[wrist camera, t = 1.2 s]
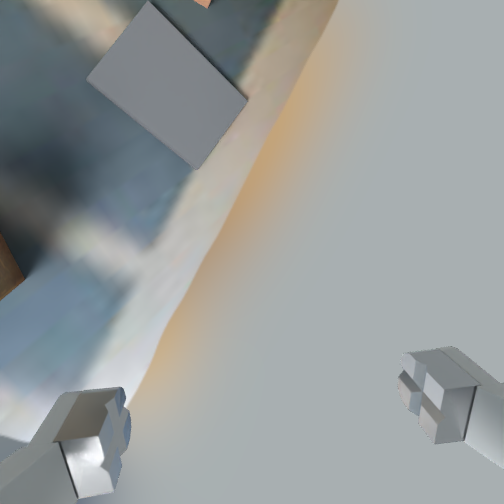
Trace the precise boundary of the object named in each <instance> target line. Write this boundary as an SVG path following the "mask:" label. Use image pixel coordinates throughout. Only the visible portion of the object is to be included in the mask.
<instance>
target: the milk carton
mask: <svg viewBox="0 0 504 504" xmlns="http://www.w3.org/2000/svg"><path fill="white" fill-rule="evenodd" d="M24 280H25V278H24V277H23V275H22V273H21V271H20V269H19V267H18V265H17V263H16V261H15V259H14V258H13V256H12V254H11V252H10V250H9V248H8V246H7V244H6V242H5V240H4V238H3V237H2V235H1V233H0V300H2V299H3V298H4V297H5V296H6V295H8V294H9V293H10V292H11V291H12V290H13V289H15V288H16V287H17V286H18V285H19V284H21V283H22V282H23V281H24Z"/></svg>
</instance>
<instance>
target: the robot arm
mask: <svg viewBox="0 0 504 504" xmlns="http://www.w3.org/2000/svg"><path fill="white" fill-rule="evenodd" d="M400 365H401V366H402V368H403V369H404V371H403V372H402V373H401V374H400V376H399V377H398V389H399V394H400V397H401V399H402V401H403V403H404V405H405V406H406V407H407V408H408V410H409V411H411V412H412V413H414V414H416V415H418V416H419V421H418V424H419V425H420V426H421V428H422V429H423V430H424V432H425V433H426V434H427V435H428V437H429V438H430V439H431V441H432V442H433V443H434V444H441V443H450V442H458V441H465V443H466V444H467V445H469V446H470V447H472V448H473V449H475V450H476V451H478V452H479V453H481V454H482V455H484V456H485V457H486V458H488V459H489V460H491V461H492V462H494V463H495V464H497V465H498V466H500V467H501V468H503V469H504V383H499V382H498V381H497V380H496V379H494V378H493V377H492V376H491V375H490V374H488V373H487V372H486V371H485V370H483V369H482V368H481V367H480V366H478V365H477V364H476V363H475V362H474V361H472V360H471V359H470V358H468V357H467V356H466V355H465V354H464V353H462V352H461V351H459V349H457V348H455V347H452V346H450V347H443V348H436V349H431V350H424V351H416V352H408V353H403V355H402V357H401V361H400ZM125 400H126V395H125V392H124V389H123V388H122V387H113V388H103V389H93V390H84V391H75V392H65V393H63V394H62V395H60V396H59V398H58V399H57V401H56V402H55V404H54V406H53V407H52V409H51V410H50V412H49V413H48V415H47V417H46V418H45V420H44V421H43V423H42V424H41V426H40V427H39V429H38V431H37V432H36V434H35V435H34V437H33V438H32V440H31V442H30V443H29V445H28V446H26V447H21V448H19V449H18V450H17V451H15V452H14V453H13V454H11V455H10V456H9V457H7V458H6V459H5V460H3V461H2V462H1V463H0V504H76V502H77V501H78V500H77V499H79V498H85V497H90V496H95V495H101V494H107V493H112V492H114V491H115V488H116V484H117V481H118V478H119V475H120V471H121V468H122V463H121V459H120V456H121V455H122V454H123V453H124V452H125V451H126V450H127V447H128V444H129V440H130V433H131V417H130V413H129V410H127V409H126V408H125V407H124V403H125Z"/></svg>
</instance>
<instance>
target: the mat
mask: <svg viewBox="0 0 504 504" xmlns="http://www.w3.org/2000/svg"><path fill="white" fill-rule="evenodd" d="M86 80H87V82H88V83H90V84H91V85H92V86H93V87H94V88H96V89H97V90H98V91H99V92H101V93H102V94H103V95H104V96H106V97H107V98H108V99H109V100H111V101H112V102H113V103H114V104H115V105H117V106H118V107H119V108H120V109H122V110H123V111H124V112H125V113H127V114H128V115H129V116H130V117H131V118H133V119H134V120H135V121H136V122H138V123H139V124H140V125H141V126H143V127H144V128H145V129H146V130H147V131H149V132H150V133H151V134H152V135H154V136H155V137H156V138H157V139H159V140H160V141H161V142H162V143H163V144H165V145H166V146H167V147H168V148H170V149H171V150H172V151H173V152H175V153H176V154H177V155H178V156H179V157H181V158H182V159H183V160H184V161H186V162H187V163H188V164H189V165H191V166H192V167H193V168H194V169H195V170H198V169H199V167H200V166H201V164H202V163H203V162H204V160H205V159H206V158H207V156H208V155H209V153H210V152H211V151H212V149H213V148H214V147H215V145H216V144H217V143H218V141H219V140H220V138H221V137H222V136H223V134H224V133H225V132H226V130H227V129H228V127H229V126H230V125H231V123H232V122H233V121H234V119H235V118H236V116H237V115H238V114H239V112H240V111H241V110H242V108H243V107H244V105H245V104H246V103H247V100H246V99H245V98H244V97H243V96H242V95H241V94H240V93H239V92H238V91H237V90H236V89H235V88H234V87H233V86H232V85H231V84H230V83H229V82H228V81H227V80H226V79H225V78H224V77H223V76H222V75H221V73H220V72H219V71H218V70H217V69H216V68H215V67H214V66H213V65H212V64H211V63H210V62H209V61H208V60H207V59H206V58H205V57H204V56H203V55H202V54H201V53H200V52H199V51H198V50H197V49H196V48H195V47H194V46H193V45H192V44H191V43H190V42H189V41H188V40H187V39H186V38H185V37H184V36H183V35H182V34H181V33H180V32H179V31H178V30H177V29H176V28H175V27H174V26H173V25H172V24H171V23H170V22H169V21H168V20H167V19H166V18H165V17H164V16H163V15H162V14H161V13H160V12H159V11H158V10H157V9H156V8H155V7H154V6H153V5H152V4H151V3H150V2H149V1H147V2H146V4H145V5H144V6H143V7H142V9H141V10H140V11H139V12H138V14H137V15H136V16H135V17H134V19H133V20H132V21H131V23H130V24H129V25H128V26H127V28H126V29H125V30H124V31H123V33H122V34H121V35H120V36H119V38H118V39H117V40H116V41H115V43H114V44H113V45H112V47H111V48H110V49H109V50H108V52H107V53H106V54H105V55H104V57H103V58H102V59H101V60H100V62H99V63H98V64H97V66H96V67H95V68H94V69H93V71H92V72H91V73H90V74H89V76H88V77H87V78H86Z"/></svg>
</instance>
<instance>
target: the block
mask: <svg viewBox="0 0 504 504" xmlns="http://www.w3.org/2000/svg"><path fill="white" fill-rule="evenodd" d="M194 1H196V2H198V3H199V4H201V5H203V6H204V7H206V8H208V6H209V4H210V1H211V0H194Z"/></svg>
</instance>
